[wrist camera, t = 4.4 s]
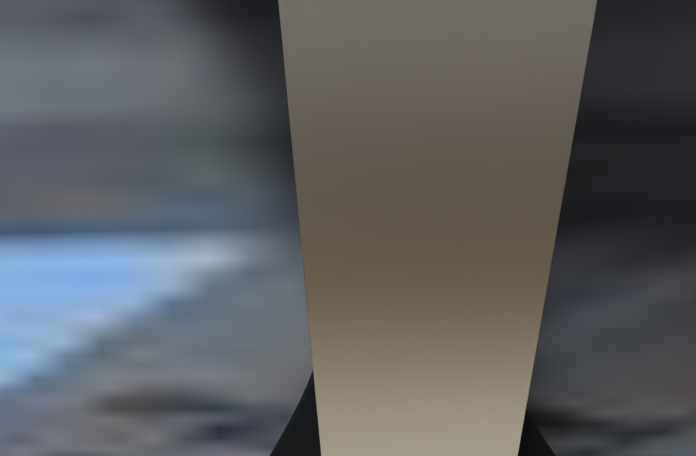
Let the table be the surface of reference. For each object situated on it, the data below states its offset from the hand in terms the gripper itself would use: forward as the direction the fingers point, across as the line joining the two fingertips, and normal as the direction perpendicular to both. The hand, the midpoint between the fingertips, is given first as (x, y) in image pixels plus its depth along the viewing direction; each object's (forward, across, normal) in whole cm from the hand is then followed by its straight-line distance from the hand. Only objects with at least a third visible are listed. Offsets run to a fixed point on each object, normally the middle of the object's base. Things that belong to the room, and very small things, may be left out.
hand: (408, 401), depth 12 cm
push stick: (+1, 0, -6) cm, 6 cm away
